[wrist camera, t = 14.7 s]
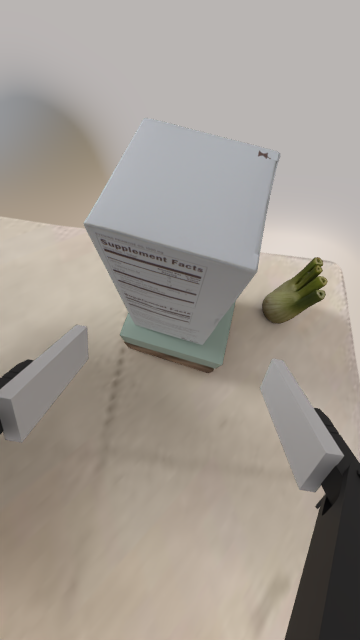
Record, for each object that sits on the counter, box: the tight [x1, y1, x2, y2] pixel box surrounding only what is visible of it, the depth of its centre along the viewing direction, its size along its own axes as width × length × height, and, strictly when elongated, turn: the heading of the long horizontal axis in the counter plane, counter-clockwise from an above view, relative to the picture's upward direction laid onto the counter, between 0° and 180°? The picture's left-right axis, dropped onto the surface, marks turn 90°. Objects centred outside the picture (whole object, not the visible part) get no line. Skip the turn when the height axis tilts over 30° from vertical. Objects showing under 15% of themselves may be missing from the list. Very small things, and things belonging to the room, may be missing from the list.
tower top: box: [120, 301, 236, 368], centre depth 29 cm, size 13×13×4 cm
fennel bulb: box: [262, 257, 327, 323], centre depth 31 cm, size 6×5×12 cm
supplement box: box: [84, 118, 280, 345], centre depth 19 cm, size 10×9×17 cm
